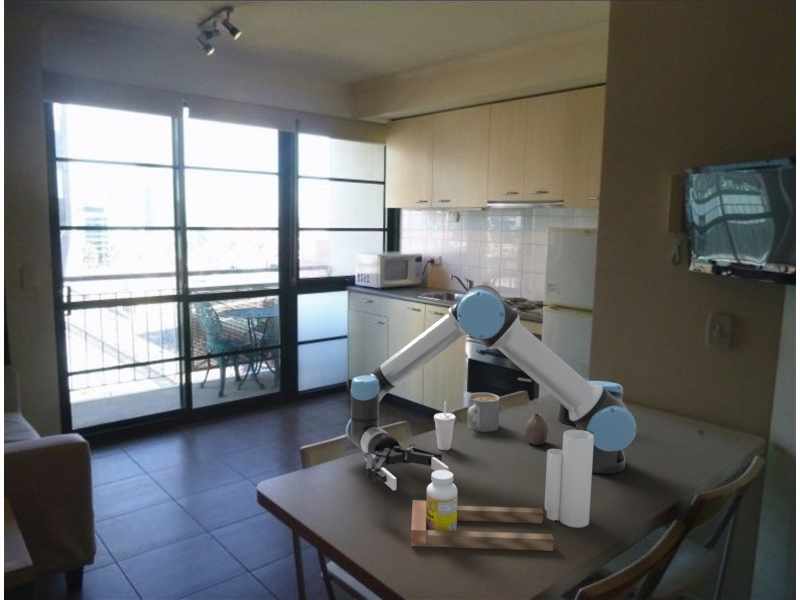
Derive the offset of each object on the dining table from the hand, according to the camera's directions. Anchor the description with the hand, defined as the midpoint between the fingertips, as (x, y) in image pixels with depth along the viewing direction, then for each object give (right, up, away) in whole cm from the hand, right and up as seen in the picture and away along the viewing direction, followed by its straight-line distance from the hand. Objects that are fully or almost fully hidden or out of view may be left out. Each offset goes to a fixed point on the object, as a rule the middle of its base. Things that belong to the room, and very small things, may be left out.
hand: (421, 478), depth 133 cm
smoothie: (+8, -3, +41) cm, 42 cm away
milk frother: (+56, -1, +63) cm, 84 cm away
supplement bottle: (+4, -10, -6) cm, 12 cm away
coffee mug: (+21, -1, +58) cm, 62 cm away
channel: (+13, -10, -6) cm, 17 cm away
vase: (+36, -3, +46) cm, 58 cm away
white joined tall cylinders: (+32, -9, +1) cm, 34 cm away
